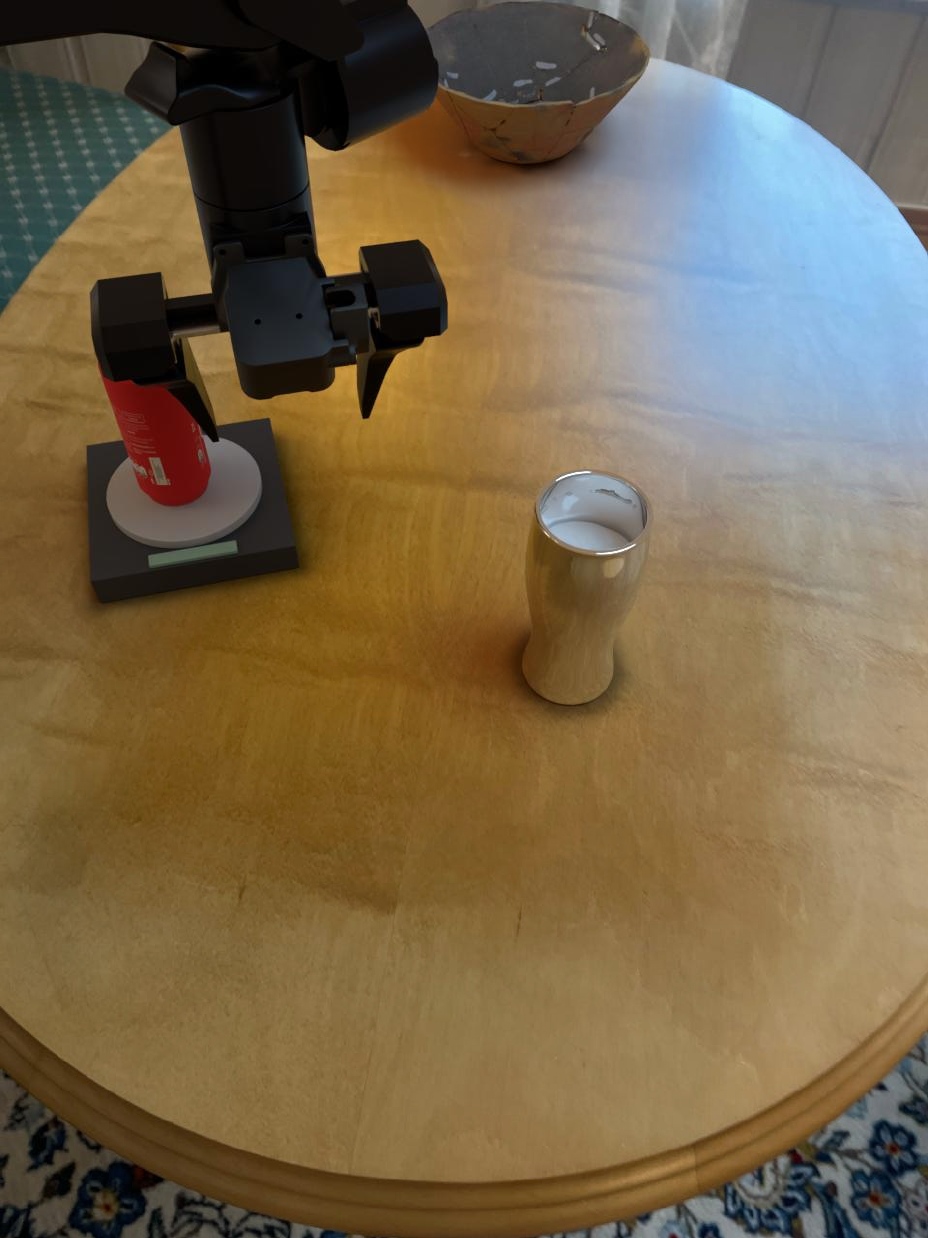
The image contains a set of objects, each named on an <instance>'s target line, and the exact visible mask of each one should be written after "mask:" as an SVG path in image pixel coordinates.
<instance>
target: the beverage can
mask: <svg viewBox="0 0 928 1238" xmlns="http://www.w3.org/2000/svg"><path fill="white" fill-rule="evenodd" d="M97 368H98V371H99V374H100V378H101V380H102V383H103V386H104V388H105V391H106V394H107V397H108V400H109V404H110V406H111V409H112V412H113V414H114V417H115V421H116V424H117V426H118V429H119V433H120V435H121V438H122V440H123V441H124V444H125V447H126V450H127V453H128V456H129V458H130V461H131V464H132V467H133V470H134V473H135V476H136V479H137V482H138V484H139V487H140V488H141V489H142V491H143V492H145V493H146V494H147V495H149V497H150V498H151V499H152V500H153V501H154V502H155V503H157V504H160V505H163V506H168V507H178V506H183V505H187V504H190V503H192V502H194V501H196V500H197V499H199V498H200V497H201V496H202V495H203V494H204V493H205V491H206V490H207V487H208V481H209V478H210V475H211V466H210V462H209V458H208V454H207V450H206V446H205V442H204V438H203V434H202V431H201V427H200V426H199V425H198V423H197V422H196V421H195V420H194V419H193V417H192V416H191V415H190V414H189V412H188V411H187V410H186V409H185V407H184V406H183V405H182V404H181V403H180V402H179V401H178V400H177V399H176V398H175V397H174V396H173V395H172V394H171V393H170V392H169V391H167V390H166V389H165V388H161V387H155V386H149V387H138V386H136V385H135V384H134V383H133V382H132V380H127V381H120V382H113V381H111V380H108V379H106V378H104V377H103V374H102V371H101V368H100V366H99V363H98V362H97Z"/></svg>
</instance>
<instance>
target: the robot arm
mask: <svg viewBox="0 0 928 1238" xmlns="http://www.w3.org/2000/svg"><path fill="white" fill-rule="evenodd" d="M425 29H426V28H425V26H424V24H423V22H422V21H421V18H420V17H419V16H418V15H417V13H416V12H415V10H414V9H413V7H412V6H411V5H410V4H409V0H0V47H8V46H17V45H23V44H33V43H39V42H46V41H52V40H54V41H55V40H61V39H68V38H74V37H83V36H91V35H97V34H108V35H121V36H131V37H137V38H141V39H147V40H152V41H151V42H150V43H149V45H148V50H147V54H146V55H145V58H144V59H143V61H142V62H141V64H140V65H139V66H138V67H136V68H135V69H134V71H133V72H132V74H131V76H130V77H129V79H128V81H127V82H126V84H125V85H124V87H123V94H124V97H125V98H126V100H128V101H129V102H130V103H132V104H134V105H135V106H137V107H140V108H141V109H143V110H144V111H146V112H148V113H150V114H151V115H152V116H154V117H156V118H158V119H159V120H161V121H163V122H165V123H166V124H168V125H169V126H172V127H178V128H179V134H180V137H181V141H182V147H183V152H184V156H185V160H186V161H185V162H186V165H187V170H188V175H189V180H190V184H191V189H192V194H193V199H194V204H195V208H196V212H197V218H198V222H199V227H200V230H201V235H202V240H203V245H204V250H205V253H206V259H207V264H208V270H209V273H210V283H209V284H210V290H211V292H207V293H200V294H192V295H185V296H177V297H169V294H168V293H169V291H168V289H167V285H166V281H165V277H164V275H163V273H162V271H156V272H148V273H147V272H146V273H140V274H132V275H125V276H124V275H123V276H118V277H117V276H115V277H109V278H108V277H107V278H100V279H97V280H96V281H95V283H94V285H93V287H92V288H91V290H90V291H89V309H90V310H89V311H90V336H91V341H92V345H93V350H94V354H95V357H96V359H97V364H98V363H99V366H100V368H101V371H102V374H103V377H104V378H106V379H108V380H111V381H113V382H120V381H127V380H132V382H133V383H134V384H135V385H136V386H138V387H149V386H155V387H161V388H165V389H166V390H167V391H169V392H170V393H171V394H172V395H173V396H174V397H175V398H176V399H177V400H178V401H179V402H180V403H181V404H182V405H183V406H184V407H185V409H186V410H187V411H188V412H189V414H190V415H191V416H192V417H193V419H194V420H195V421H196V422H197V423H198V425H199V426H200V427H201V428H202V430H203V431H204V432H205V433H206V435H207V436H208V437H209V438H210V440H211V441H212V442H213V443H215V442H219V434H218V429H217V425H218V424H217V420H216V416H215V411H214V408H213V405H212V402H211V399H210V397H209V394H208V393H209V392H208V391H207V388H206V385H205V383H204V380H203V377H202V374H201V372H200V371H201V370H200V369H199V366H198V364H197V359H196V358H195V356H194V352H193V349H192V346H191V344H190V341H189V338H196V337H202V336H210V335H217V334H224V333H225V334H226V333H228V334H229V337H230V338H229V339H230V343H231V349H232V353H233V358H234V362H235V367H236V371H237V376H238V381H239V385H240V389H241V390H242V392H243V394H245V396H247V397H248V398H250V399H252V400H255V401H265V400H272V399H273V398H275V397H279V396H284V395H290V394H297V393H303V392H309V393H318V392H323V391H325V390H327V389H329V388H330V387H331V386H332V385H333V383H334V382H335V379H336V368H342V367H349V366H356V391H357V399H358V406H359V407H358V408H359V411H360V415H361V418H362V420H368V419H370V417H371V414H372V411H373V410H374V407H375V405H376V401H377V399H378V396H379V393H380V391H381V388H382V385H383V383H384V380H385V378H386V375H387V373H388V371H389V368H390V367H391V365H392V364H393V361H394V360H395V358H396V357H397V355H398V354H400V353H403V352H405V351H407V350H410V349H416V348H419V347H421V346H422V345H423V344H424V342H425V339H426V338H433V337H441V336H442V335H443V334H444V333H445V332H446V331H447V330H448V329H449V301H448V296H447V290H446V286H445V284H444V282H443V279H442V276H441V273H440V272H439V270H438V269H439V268H438V267H437V265H436V262H435V260H434V257H433V255H432V253H431V250H430V248H429V247H428V246H426V245H425V244H424V243H423V242H422V241H421V240H420V239H418V238H416V239H409V240H401V241H394V242H386V243H377V244H370V245H362V246H361V245H360V246H359V249H358V254H357V255H358V266H359V271H357V272H356V271H354V272H349V273H348V272H347V273H341V274H339V273H338V274H331V275H327V271H326V268H325V266H324V264H323V262H322V260H321V259H320V256H319V250H318V241H317V231H316V223H315V214H314V205H313V198H312V197H313V196H312V188H311V180H310V178H311V177H310V172H309V171H310V170H309V163H308V162H309V161H308V154H307V145H306V137H308V138H310V139H311V140H313V142H315V143H316V144H317V145H319V147H320V148H322V149H325V150H327V151H331V152H339V151H343V150H346V149H348V148H350V147H352V146H355V145H357V144H359V143H361V142H363V141H366V140H369V139H370V138H372V137H375V136H377V135H379V134H381V133H384V132H385V131H388V130H390V129H393V128H394V127H397V126H399V125H401V124H403V123H406V122H408V121H411V120H412V119H414V118H417V117H419V116H420V115H423V114H425V113H426V112H427V111H429V109H430V108H431V106H432V105H433V103H434V102H435V99H436V93H437V90H438V81H439V65H438V61H437V59H436V58H435V57H434V54H433V50H432V46H431V43H430V40H429V37H428V35H427V32H426V30H425ZM165 43H166V44H165ZM167 44H172V45H177V46H181V47H186V48H191V49H188V50H186V51H183V52H180V51H178V50H176V49H174V48H173V47H171V46H168V45H167Z"/></svg>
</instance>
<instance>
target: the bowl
mask: <svg viewBox="0 0 928 1238" xmlns="http://www.w3.org/2000/svg"><path fill="white" fill-rule="evenodd" d="M599 11H600V10H596V9H593V8H588V7H584V6H579V5H574V4H570V3H564V2H553V1H543V0H532V1H504V2H503V1H502V2H495V3H491V4H490V3H489V4H483V5H479V6H478V5H477V6H473V7H469V8H464V9H460V10H455V11H453V12H451V13H450V14H447V15H446V16H445V17H443V18H441V19H439V20H437V21H435V22H434V23H432V24H430V25H429V26H428V27H426V28H425V30H426V32H427V35H428V37H429V40H430V43H431V46H432V50H433V54H434V57H435V58H436V59H437V61H438V65H439V81H438V90H437V93H436V96H435V99H437V100H438V102H439V103H440V104H441V107H443V109H444V110H445V111H446V113H447V114H448V116H449V117H450V119H451V120H452V121H453V122H454V123H455V125H456V126H458V128H459V129H460V130H461V131H462V132H463V134H465V135H466V137H468V139H470V140H471V142H472V144H474V145H475V146H476V147H477V148H478V149H479V150H480V151H482V152H483V153H484V154H486V155H487V156H488V157H491V158H493V159H495V160H498V161H501V162H505V163H510V164H511V163H513V164H519V165H522V164H525V165H526V164H541V163H545V162H549V161H553V160H557V159H559V158H562V157H563V156H565V155H566V154H568V153H569V152H571V151H573V149H575V148H576V147H577V146H579V145H580V144H581V143H582V142H584V141H585V140H586V139H587V138H588V137H589V135H590V134H592V132H593V131H594V130H595V128H596V127H597V126H599V125H600V124H601V123H602V122H603V120H604V119H605V118H606V117H607V116H608V115H609V114H610V112H612V111H613V109H614V108H616V107H617V105H618V104H619V103H620V102H621V101H622V100H623V99H624V98H625V97H626V96H627V95H628V93H629V92H630V91H631V90H632V89H633V87H634V86H635V85H636V84H637V83H638V82H639V81H640V80H641V78H642V77H643V75H644V74H645V72H646V69H647V67H648V65H649V62H650V57H651V53H650V47H649V46H648V45H647V43H646V41H645V40H644V39H643V37H642V36H641V35H640V34H639V33H638V31H636V30H635V29H633V27H630V25H628V24H627V23H624V22H621V21H620V20H618V19H616V18H614V17H612V16H610V15H608V14H606V13H604V12H599ZM587 34H588V35H589V37H590V38H591V39H592V40H593V41H594V42H595V43H596V44H597V45H598V46H599V49H598V47H597V46H595V45H594V44H593V43H592V42H591V41H590V40H589V39H588V38H587Z"/></svg>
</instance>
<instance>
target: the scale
mask: <svg viewBox="0 0 928 1238" xmlns="http://www.w3.org/2000/svg"><path fill="white" fill-rule="evenodd" d="M217 429H218V434H219V442H215V443H213V442H212V441H211V440H210V438H209V437H208V436H207V435H206V433H205V432H204V431H203V430H202V428H201V431H202V434H203V438H204V442H205V446H206V450H207V454H208V458H209V462H210V466H211V475H210V478H209V481H208V487H207V490H206V491H205V493H204V494H203V495H202V496H201V497H200V498H199V499H197V500H196V501H194V502H192V503H190V504H187V505H183V506H178V507H168V506H163V505H160V504H157V503H155V502H154V501H153V500H152V499H151V498H150V497H149V495H147V494H146V493H145V492H143V491H142V489H141V488H140V487H139V484H138V482H137V479H136V476H135V473H134V470H133V467H132V464H131V461H130V458H129V456H128V453H127V450H126V447H125V444H124V441H123V439H120V440H113V441H107V442H100V443H94V444H88V445H87V444H86V446H85V451H86V452H85V453H86V481H87V482H86V485H87V517H88V518H87V519H88V520H87V522H88V549H89V550H88V552H89V553H88V556H89V581H90V582H89V583H90V584H91V587H92V588H93V591H94V594H95V596H96V598H97V600H98V602H99V604H103V603H109V602H116V601H120V600H125V599H132V598H138V597H143V596H148V595H154V594H159V593H164V592H171V591H175V590H176V591H177V590H181V589H187V588H192V587H197V586H204V585H209V584H215V583H220V582H227V581H231V580H236V579H237V580H238V579H242V578H248V577H254V576H258V575H264V574H271V573H276V572H281V571H288V570H293V569H298V568H300V561H299V555H298V550H297V549H298V548H297V544H296V540H295V535H294V529H293V525H292V520H291V515H290V511H289V505H288V500H287V495H286V490H285V486H284V480H283V476H282V471H281V466H280V461H279V456H278V451H277V446H276V441H275V436H274V432H273V426H272V422H271V417H262V418H258V419H257V418H256V419H250V420H243V421H237V422H231V423H224V424H217Z"/></svg>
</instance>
